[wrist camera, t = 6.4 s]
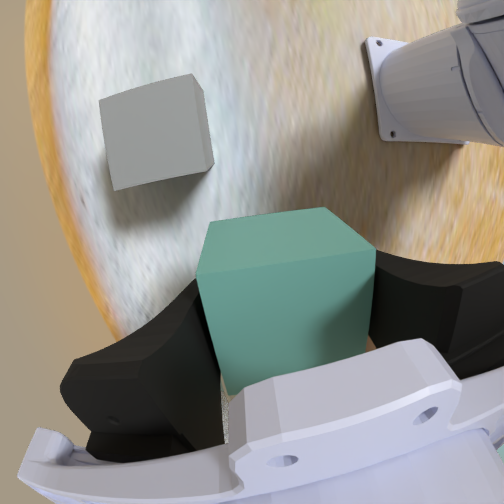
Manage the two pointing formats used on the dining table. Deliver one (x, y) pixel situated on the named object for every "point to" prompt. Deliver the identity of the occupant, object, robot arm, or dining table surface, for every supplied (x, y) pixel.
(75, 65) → the dining table surface
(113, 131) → the slate block
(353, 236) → the teal block
